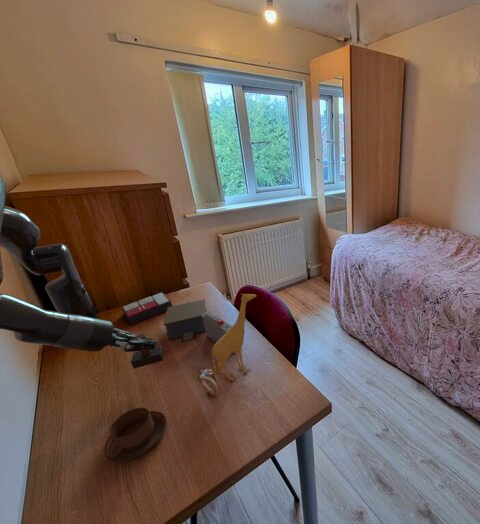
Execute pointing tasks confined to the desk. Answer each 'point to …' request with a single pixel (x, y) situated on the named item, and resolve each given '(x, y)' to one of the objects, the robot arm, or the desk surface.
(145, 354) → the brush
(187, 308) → the grey storage box
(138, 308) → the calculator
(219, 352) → the giraffe
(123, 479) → the desk surface
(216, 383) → the ring
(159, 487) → the desk surface
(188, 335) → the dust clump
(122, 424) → the brown fedora hat
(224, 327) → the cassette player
